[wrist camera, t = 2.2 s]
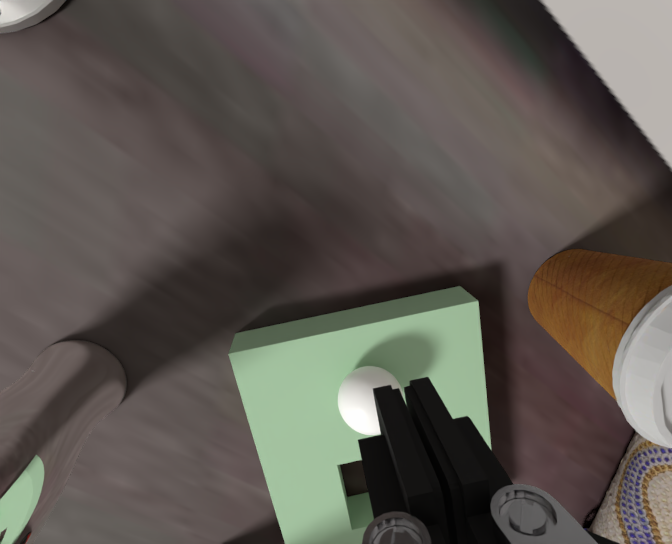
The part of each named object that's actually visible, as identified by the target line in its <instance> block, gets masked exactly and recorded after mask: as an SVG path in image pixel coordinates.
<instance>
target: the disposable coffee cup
mask: <svg viewBox="0 0 672 544" xmlns="http://www.w3.org/2000/svg"><path fill="white" fill-rule="evenodd" d="M528 305H529V309H530V312H531V314H532V315H533V317H534V319H535V320H536V321H537V322H538V323H539V324H540V325H541V326H542V327H543V328H544V329H545V330H546V331H547V332H548V333H549V334H550V335H551V336H552V337H553V338H554V339H555V340H556V341H557V342H558V343H559V344H560V345H561V346H562V347H563V348H564V349H565V350H566V351H567V352H568V353H569V354H570V355H571V356H572V357H573V358H574V359H575V360H576V361H577V362H578V363H579V364H580V365H581V366H582V367H583V368H584V369H585V370H586V371H587V372H588V373H589V374H590V375H591V376H592V377H593V378H594V379H595V380H596V381H597V382H598V383H599V384H600V385H601V386H602V387H603V388H604V389H605V390H606V391H607V392H608V393H609V394H610V395H611V396H612V397H613V398H614V399H615V400H616V401H617V403H618V405H619V406H620V407H621V409H622V411H623V413H624V415H625V418H626V420H627V421H628V422H629V423H630V425H631V426H632V427H633V428H634V429H635V430H636V431H637V432H638V433H639V434H640V435H641V436H643V437H644V438H645V439H647V440H649V441H651V442H653V443H655V444H658V445H661V446H664V447H667V448H672V263H668V262H662V261H654V260H649V259H643V258H635V257H629V256H628V257H627V256H623V255H616V254H609V253H603V252H596V251H589V250H584V249H571V250H566V251H563V252H561V253H558V254H556V255H554V256H553V257H551V258H550V259H548V260H547V261H546V262H545V263H544V264H543V265H542V266H541V267H540V268H539V269H538V271H537V272H536V273H535V275H534V277H533V279H532V281H531V284H530V287H529V291H528Z"/></svg>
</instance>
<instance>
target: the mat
mask: <svg viewBox="0 0 672 544" xmlns="http://www.w3.org/2000/svg"><path fill="white" fill-rule="evenodd" d="M229 358H230V361H231V364H232V368H233V371H234V374H235V378H236V381H237V384H238V388H239V391H240V394H241V398H242V401H243V405H244V408H245V411H246V415H247V418H248V421H249V425H250V428H251V431H252V435H253V438H254V442H255V445H256V448H257V452H258V455H259V458H260V462H261V465H262V468H263V472H264V475H265V478H266V482H267V485H268V489H269V492H270V495H271V499H272V502H273V505H274V509H275V512H276V515H277V519H278V522H279V525H280V529H281V532H282V536H283V539H284V542H285V544H362V540H363V534H364V532H365V530H366V528H367V526H368V525H369V524H370V523H371V522H372V521H373V520H374V517H373V512H372V507H371V502H370V498H369V493H368V492H367V493H363V494H358V495H354V496H350V497H347V494H346V490H345V485H344V481H343V477H342V472H341V468H340V465H341V464H345V463H349V462H354V461H358V460H362V458H361V453H360V448H359V444H358V440H359V439H363V438H368V437H372V436H377V435H365V434H361V433H359V432H356V431H355V430H353V429H352V428H351V427H349V426H348V425H347V423H346V422H345V421H344V419H343V418H342V416H341V414H340V411H339V407H338V392H339V388H340V386H341V384H342V382H343V380H344V379H345V378H346V376H347V375H348V374H350V373H351V372H352V371H354V370H355V369H358V368H360V367H364V366H375V367H380V368H383V369H385V370H386V371H388V372H389V373H391V374H392V375H393V376H394V377H395V378H396V379H397V381H398V383H399V384H400V386H401V388H402V391H403V396H404V401H405V403H406V399H405V393H404V387H406V386H410V380H415V379H419V378H424V377H429V379H430V380H431V382H432V384H433V386H434V387H435V389H436V391H437V392H438V394H439V396H440V398H441V399H442V401H443V403H444V404H445V406H446V408H447V409H448V411H449V413H450V415H451V416H452V418H453V419H455V418H459V417H464V416H468V417H469V418H470V419H471V420H472V422H473V423H474V425H475V426H476V428H477V429H478V431H479V432H480V434H481V436H482V437H483V439H484V440H485V442H486V443H487V445H488V446H489V448H490V449H491V439H490V428H489V417H488V405H487V394H486V383H485V371H484V360H483V348H482V337H481V326H480V314H479V303H478V300H477V299H476V298H474V297H473V296H472V295H471V294H469V293H468V292H467V291H466V290H464V289H463V288H462V287H461V286H457V287H453V288H448V289H443V290H439V291H434V292H429V293H424V294H420V295H415V296H410V297H405V298H401V299H396V300H391V301H386V302H382V303H377V304H372V305H367V306H363V307H358V308H353V309H348V310H344V311H339V312H334V313H330V314H325V315H320V316H315V317H311V318H306V319H301V320H296V321H292V322H287V323H282V324H277V325H273V326H268V327H263V328H258V329H254V330H249V331H244V332H239V333H235V336H234V339H233V342H232V345H231V348H230V351H229ZM379 435H381V434H379Z"/></svg>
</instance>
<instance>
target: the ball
mask: <svg viewBox="0 0 672 544" xmlns="http://www.w3.org/2000/svg"><path fill="white" fill-rule="evenodd" d="M387 385H391V387H392V389H397V388H399V389H400V392H401V394H402V396H403V391H402V388H401V386H400V384H399V383H398V381H397V379H396V378H395V377H394V376H393V375H392V374H391V373H389V372H388V371H386V370H385V369H383V368H380V367H375V366H364V367H360V368H358V369H355V370H354V371H352V372H351V373H350V374H348V375H347V376H346V378H345V379H344V380H343V382H342V384H341V386H340V388H339V392H338V407H339V411H340V414H341V416H342V418H343V419H344V421H345V422H346V423H347V425H348V426H349V427H351V428H352V429H353V430H355V431H356V432H359V433H361V434H365V435H379V434H381V432H380V427H379V421H378V416H377V411H376V405H375V400H374V394H373V388H377V387H382V386H387ZM403 399H404V396H403Z"/></svg>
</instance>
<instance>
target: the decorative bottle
mask: <svg viewBox="0 0 672 544" xmlns="http://www.w3.org/2000/svg"><path fill="white" fill-rule="evenodd" d="M585 530H588V531H590V532H593V533H595V534H597V535H600V536H602V537H605V538H607V539H610V540H612V541H615V542H617V543H620V544H672V448H667V447H664V446H661V445H658V444H655V443H653V442H651V441H649V440H647V439H645V438H644V437H643V436H641V435H640V434H639V433H638V432H637V431H636V433H635V434H634V436H633V438H632V440H631V442H630V444H629V447H628V448H627V452H626V454H625V455H624V457H623V458H622V460H621V463H620V465H619V468H618V470H617V473H616V475H615V476H614V478H613V480H612V483H611V485H610V487H609V489H608V490H607V492H606V496H605V498H604V500H603V502H602V504H601V506H600V508H599V510H598V513H597V515H596V517H595V519H594V520H593V522H592V524H591V526H590V528H589V529H588V528H585Z"/></svg>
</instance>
